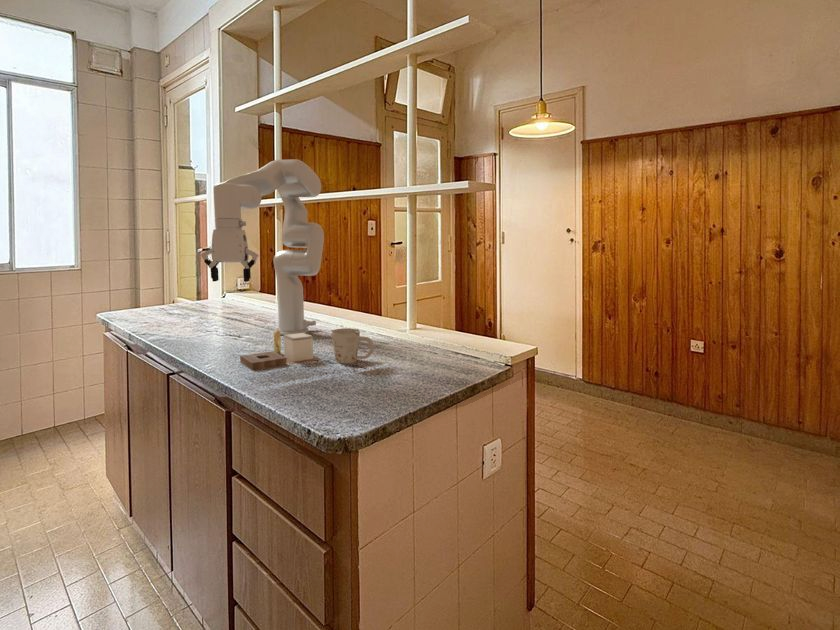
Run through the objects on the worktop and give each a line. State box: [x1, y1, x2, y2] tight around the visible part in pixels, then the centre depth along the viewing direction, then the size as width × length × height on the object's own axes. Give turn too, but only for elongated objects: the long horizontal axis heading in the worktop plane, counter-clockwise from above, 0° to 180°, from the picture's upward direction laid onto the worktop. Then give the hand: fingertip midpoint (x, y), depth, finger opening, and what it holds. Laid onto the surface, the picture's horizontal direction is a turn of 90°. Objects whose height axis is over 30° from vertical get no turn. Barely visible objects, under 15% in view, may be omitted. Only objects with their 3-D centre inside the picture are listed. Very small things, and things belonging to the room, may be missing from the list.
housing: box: [283, 333, 314, 362], centre depth 156 cm, size 6×6×7 cm
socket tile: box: [239, 350, 288, 371], centre depth 150 cm, size 10×10×3 cm
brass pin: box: [273, 330, 282, 355], centre depth 162 cm, size 2×2×8 cm
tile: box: [283, 355, 321, 365], centre depth 156 cm, size 10×10×6 cm
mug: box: [330, 328, 375, 364], centre depth 154 cm, size 8×13×10 cm, turn 95°
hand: (231, 281), depth 160 cm, fingers open, 9 cm apart
